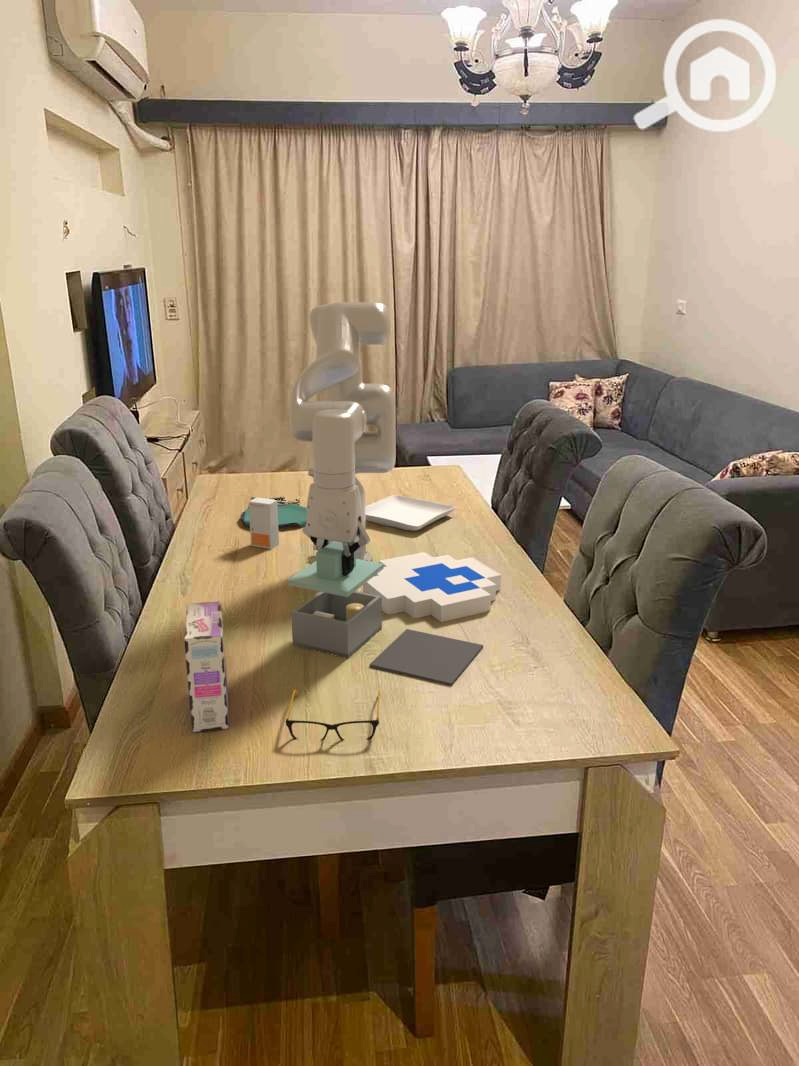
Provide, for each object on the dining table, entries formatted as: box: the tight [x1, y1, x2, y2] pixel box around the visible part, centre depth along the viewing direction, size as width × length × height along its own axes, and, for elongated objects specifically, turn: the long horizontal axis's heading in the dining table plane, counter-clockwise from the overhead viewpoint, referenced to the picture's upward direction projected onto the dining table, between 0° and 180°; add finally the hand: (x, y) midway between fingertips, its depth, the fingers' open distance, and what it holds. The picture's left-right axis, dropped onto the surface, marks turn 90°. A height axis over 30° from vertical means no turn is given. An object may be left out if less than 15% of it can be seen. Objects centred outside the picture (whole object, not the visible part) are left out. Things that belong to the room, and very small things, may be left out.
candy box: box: [184, 600, 230, 733], centre depth 132 cm, size 14×6×16 cm, turn 12°
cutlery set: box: [240, 495, 307, 528], centre depth 232 cm, size 20×30×2 cm, turn 7°
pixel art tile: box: [362, 551, 502, 623], centre depth 180 cm, size 28×4×28 cm
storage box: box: [290, 590, 383, 659], centre depth 159 cm, size 12×14×7 cm
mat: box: [369, 628, 484, 687], centre depth 152 cm, size 16×16×1 cm
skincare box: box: [248, 496, 280, 550], centre depth 206 cm, size 6×4×12 cm
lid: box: [287, 541, 384, 597], centre depth 155 cm, size 13×15×6 cm
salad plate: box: [365, 494, 456, 532], centre depth 228 cm, size 21×21×3 cm
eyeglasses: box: [285, 689, 381, 741], centre depth 132 cm, size 14×14×4 cm
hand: (336, 569), depth 156 cm, fingers closed on lid, 4 cm apart
